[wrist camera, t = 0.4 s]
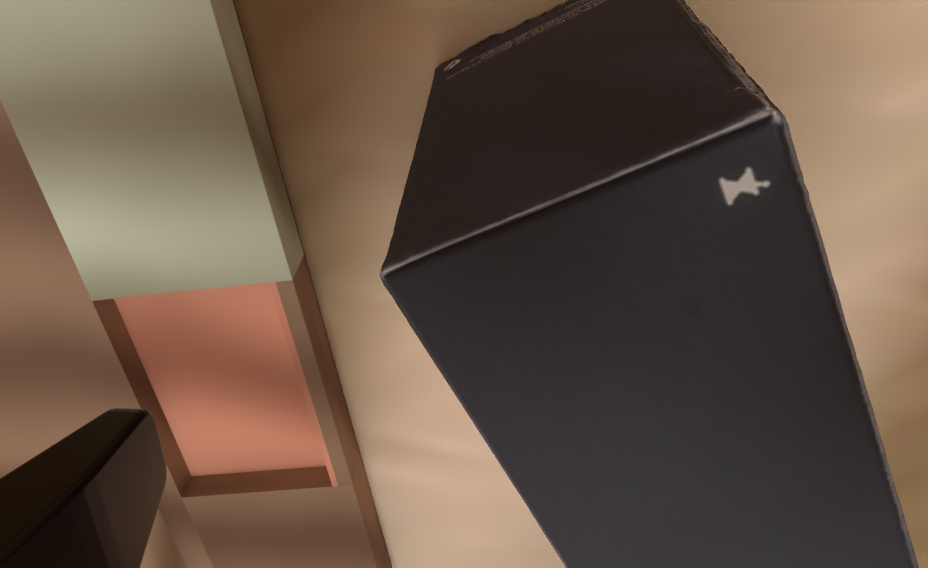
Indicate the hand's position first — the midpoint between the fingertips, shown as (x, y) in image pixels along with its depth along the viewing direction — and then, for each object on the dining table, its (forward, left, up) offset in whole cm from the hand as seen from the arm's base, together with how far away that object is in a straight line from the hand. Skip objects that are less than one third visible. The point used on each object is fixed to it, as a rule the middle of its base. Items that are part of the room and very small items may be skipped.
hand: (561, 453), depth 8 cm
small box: (-3, -2, -14) cm, 15 cm away
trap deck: (-7, +17, -14) cm, 23 cm away
